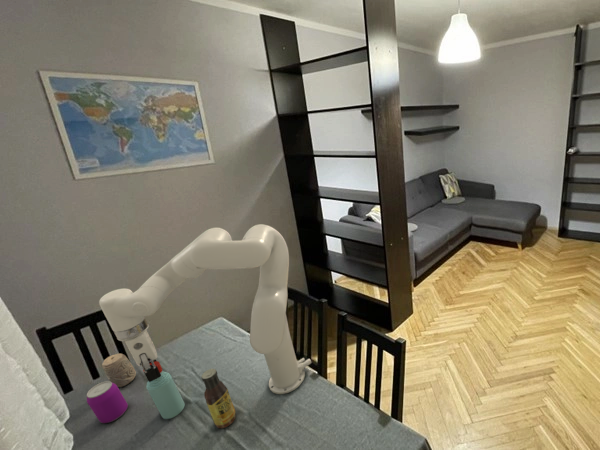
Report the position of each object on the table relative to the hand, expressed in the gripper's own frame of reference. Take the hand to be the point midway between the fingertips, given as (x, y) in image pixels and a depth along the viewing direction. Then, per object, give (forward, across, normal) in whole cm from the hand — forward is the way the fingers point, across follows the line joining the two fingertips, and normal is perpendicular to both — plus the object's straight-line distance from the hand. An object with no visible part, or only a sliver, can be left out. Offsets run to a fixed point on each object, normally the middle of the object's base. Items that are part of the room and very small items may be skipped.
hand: (153, 372), depth 100 cm
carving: (+18, +29, +11) cm, 35 cm away
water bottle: (+17, 0, 0) cm, 17 cm away
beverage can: (+18, +14, +15) cm, 27 cm away
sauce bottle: (+17, -18, -12) cm, 28 cm away
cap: (0, 0, 0) cm, 0 cm away
